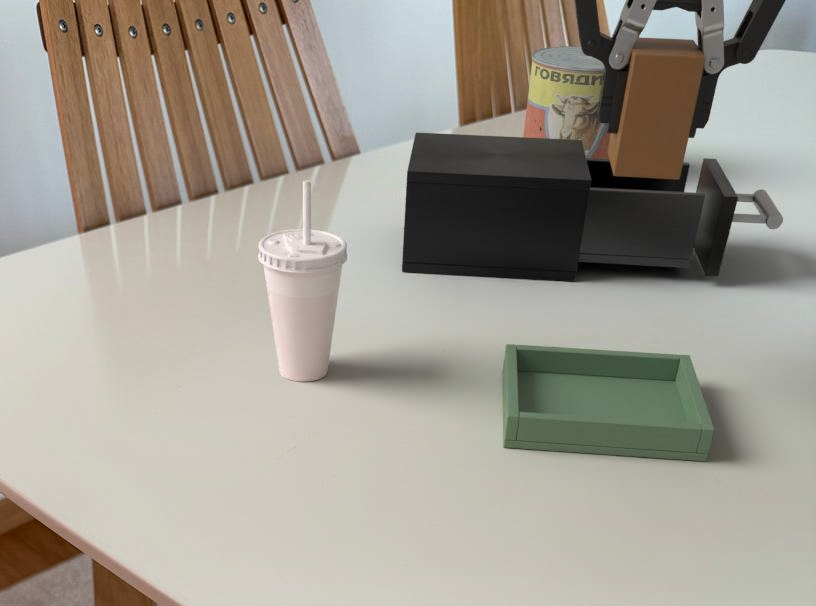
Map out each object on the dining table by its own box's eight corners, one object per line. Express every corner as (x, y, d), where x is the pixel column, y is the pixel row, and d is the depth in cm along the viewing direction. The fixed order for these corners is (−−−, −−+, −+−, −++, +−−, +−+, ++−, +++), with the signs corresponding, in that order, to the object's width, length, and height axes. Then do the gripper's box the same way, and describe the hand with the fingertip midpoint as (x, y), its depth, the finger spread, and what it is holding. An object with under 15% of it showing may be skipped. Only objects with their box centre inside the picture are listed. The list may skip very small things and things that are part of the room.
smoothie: (292, 397, 77) (289, 199, 68) (245, 365, 81) (237, 175, 72) (361, 375, 80) (368, 183, 71) (313, 345, 83) (313, 160, 74)
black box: (567, 234, 105) (582, 139, 99) (575, 281, 95) (591, 180, 89) (410, 225, 106) (415, 132, 100) (401, 272, 96) (407, 171, 90)
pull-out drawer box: (750, 235, 102) (769, 161, 98) (774, 280, 93) (797, 200, 89) (549, 225, 104) (559, 151, 99) (554, 267, 95) (566, 188, 90)
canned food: (516, 185, 117) (530, 65, 109) (520, 157, 125) (534, 43, 117) (618, 192, 115) (640, 71, 107) (616, 163, 124) (636, 49, 116)
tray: (682, 384, 79) (689, 354, 78) (706, 461, 70) (715, 430, 69) (502, 373, 80) (506, 343, 79) (503, 447, 71) (507, 416, 70)
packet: (669, 156, 71) (693, 39, 67) (679, 180, 67) (706, 57, 62) (607, 152, 72) (627, 36, 67) (613, 176, 67) (634, 54, 63)
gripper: (586, -208, 55) (540, 142, 66) (868, -201, 53) (772, 155, 64) (579, -210, 60) (537, 113, 71) (833, -203, 59) (751, 124, 70)
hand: (649, 131), depth 68 cm, fingers closed on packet, 4 cm apart
